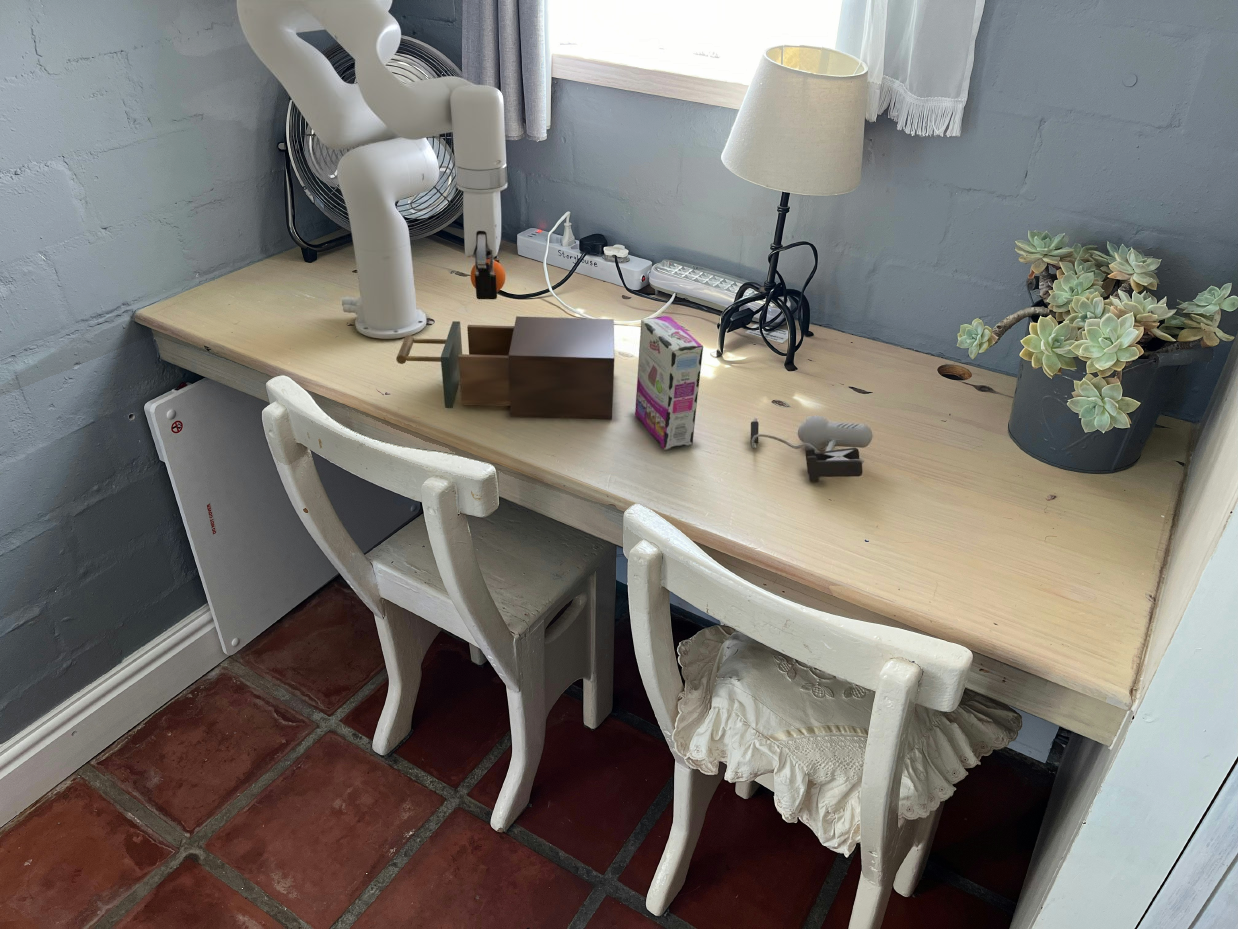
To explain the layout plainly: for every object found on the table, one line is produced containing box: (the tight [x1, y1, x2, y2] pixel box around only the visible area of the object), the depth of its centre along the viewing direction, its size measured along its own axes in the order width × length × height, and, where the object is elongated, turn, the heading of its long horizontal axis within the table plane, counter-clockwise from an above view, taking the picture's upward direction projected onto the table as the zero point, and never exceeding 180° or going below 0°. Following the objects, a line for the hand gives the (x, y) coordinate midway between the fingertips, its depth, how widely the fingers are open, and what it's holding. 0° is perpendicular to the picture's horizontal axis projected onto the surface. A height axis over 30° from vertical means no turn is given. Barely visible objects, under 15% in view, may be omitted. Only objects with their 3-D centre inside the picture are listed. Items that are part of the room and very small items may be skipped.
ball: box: [470, 259, 506, 293], centre depth 138 cm, size 6×6×6 cm
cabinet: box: [509, 315, 615, 421], centre depth 137 cm, size 16×14×11 cm
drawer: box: [395, 320, 514, 409], centre depth 137 cm, size 22×12×9 cm, turn 91°
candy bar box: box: [634, 315, 704, 451], centre depth 128 cm, size 11×5×16 cm, turn 23°
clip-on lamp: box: [750, 415, 873, 483], centre depth 126 cm, size 12×6×18 cm
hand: (488, 289), depth 140 cm, fingers closed on ball, 5 cm apart
